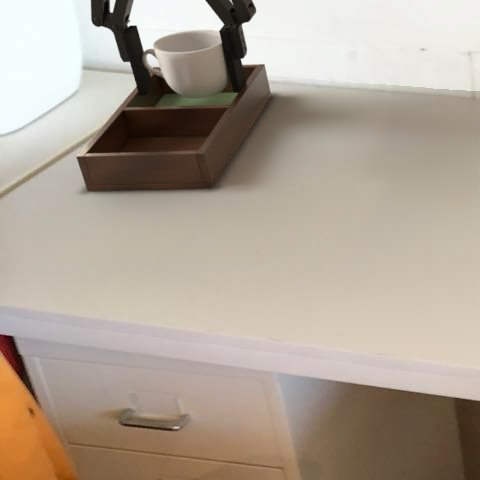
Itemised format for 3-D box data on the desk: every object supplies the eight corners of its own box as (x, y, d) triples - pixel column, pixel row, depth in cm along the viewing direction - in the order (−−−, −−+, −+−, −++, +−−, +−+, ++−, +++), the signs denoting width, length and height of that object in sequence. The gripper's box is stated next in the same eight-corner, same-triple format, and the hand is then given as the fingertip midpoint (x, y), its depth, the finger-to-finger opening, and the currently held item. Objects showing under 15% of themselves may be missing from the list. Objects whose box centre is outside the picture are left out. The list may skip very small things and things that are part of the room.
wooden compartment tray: (87, 191, 133) (75, 156, 130) (161, 98, 152) (152, 66, 149) (212, 188, 132) (203, 153, 130) (271, 95, 151) (264, 63, 148)
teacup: (248, 79, 146) (237, 29, 143) (223, 105, 141) (210, 53, 137) (165, 78, 148) (151, 28, 144) (137, 103, 142) (122, 52, 139)
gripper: (255, -151, 131) (300, 74, 146) (38, -143, 133) (105, 80, 148) (236, -133, 126) (285, 99, 141) (10, -125, 127) (82, 104, 142)
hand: (193, 89), depth 144 cm, fingers closed on teacup, 10 cm apart
